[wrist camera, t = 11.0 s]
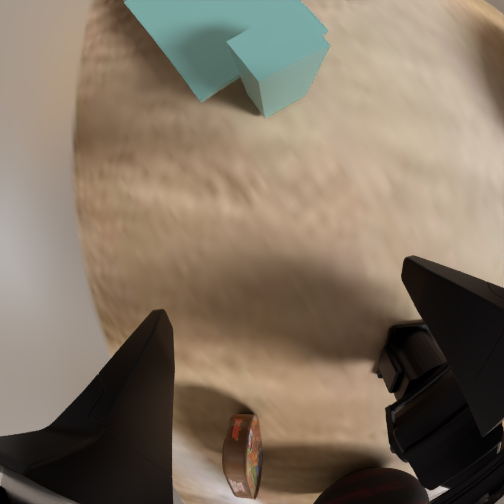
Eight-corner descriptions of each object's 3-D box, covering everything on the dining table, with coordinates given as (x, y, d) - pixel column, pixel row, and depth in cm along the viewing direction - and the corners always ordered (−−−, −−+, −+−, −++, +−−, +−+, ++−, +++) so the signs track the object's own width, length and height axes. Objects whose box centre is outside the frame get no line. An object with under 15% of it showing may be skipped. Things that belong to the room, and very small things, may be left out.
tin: (263, 460, 32) (260, 507, 24) (242, 460, 32) (236, 506, 24) (256, 398, 27) (250, 461, 19) (228, 398, 28) (216, 460, 20)
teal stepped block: (335, 80, 17) (378, 27, 8) (233, 139, 19) (200, 119, 10) (237, -27, 14) (219, -96, 5) (148, 24, 16) (90, -26, 7)
